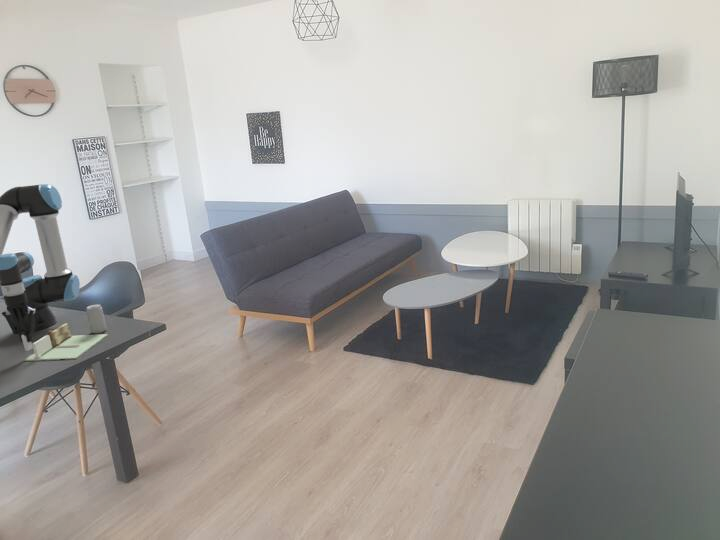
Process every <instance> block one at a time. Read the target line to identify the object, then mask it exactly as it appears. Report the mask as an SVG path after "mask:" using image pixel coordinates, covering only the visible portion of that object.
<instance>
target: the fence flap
mask: <svg viewBox="0 0 720 540" xmlns="http://www.w3.org/2000/svg"><path fill="white" fill-rule="evenodd" d="M32 347H33V348H32V349H33V352H34V353H35V357H34V358H40V357H42V356H40V355H42V354H43V353H45V352H46V351H48V350H49V349H51V348H52V344H51V340H50V336H49V335H48V334H45V335H44V336H43V337H41V338H39V339H38V340H37V341H34V342H32ZM34 353H33V354H34Z"/></svg>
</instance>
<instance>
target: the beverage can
mask: <svg viewBox="0 0 720 540" xmlns="http://www.w3.org/2000/svg"><path fill="white" fill-rule="evenodd" d="M85 312H86V316H87V319H88V325H89V329H90V332H91V334H93V335H99V334H103V333H104V332H105V331H107V324H106V320H105V315H104V310H103V307H102V306H101V304H100V303H99V304H91V305H89V306H86V311H85Z"/></svg>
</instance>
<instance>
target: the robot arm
mask: <svg viewBox="0 0 720 540" xmlns="http://www.w3.org/2000/svg"><path fill="white" fill-rule="evenodd" d="M62 203H63V201H62V198H61V194H60V193H59V191H58V189H57V187H55V186H54V185H52V184H41V183H40V184H34V185H27V186H26V185H23V186H15V187H12V188H9V189H8V190H6V191H5V192H4V193H2V194H1V195H0V288H1V292H2V295H3V301H4V302H5V303H4V304H5V306H6V310H4V311H3V312H1V315H2V316H3V317H4V318H5V319H6V321H7V324H8V325H9V327H10V329H11V331H12V333H13V335H18V336H19V339H20V342H21V343H22V344H23V347H24V350H25V352H26V351H27V352H29V351H31V350H32V349H33V345H32V344H33V342H32V341H33V337H32V333H33V332H35V331H38V330H43V329H46V328H49V327H51V326H53V325H55V324H56V323H57V322H58V321H57V318H56V316H55V314H54V313H53V311H52V309H51V308H50V306H49V304H50V303H58V302H59V303H60V302H69V301H72V300H73V301H74V300H75V299H77V298H78V296H79V294H80V287H81V285H80V279H79V276H78V275H77V274H73V270H72V269H70V268H69V267H68V265H67V261H66V256H65V250H64V247H63V243H62V238H61V233H60V230H59V224H58V221H57V217H58V215H59V213H60V211H59V210H61V209H62V207H63V206H62V205H63V204H62ZM24 213H26V214H27V213H28V215H29V218H31V219H33V220H34V223H35V227H36V230H37V236H38V240H39V243H40V249H41V253H42V258H43V261H44V267H45V270H46V272H45V273H44V275H43V276H42V275H40V274H39V275H38V274H36V275H31V276H28V277H25V278H23V277H22V276H23V275H22V274H23V273H25V272H27V271H29V270H30V269H31V268H32V267H33V266H34V264H35V259H34V257H33V255H32V254H31V253H29V252H25V251H22V252H17V253H4V250H5V247H6V244H7V240H8V238H9V235H10V232H11V229H12V227H13V224H14V221H15V220H17V219H18V216H19V215H20V214H24ZM3 253H4V254H3Z"/></svg>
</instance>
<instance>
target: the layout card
mask: <svg viewBox="0 0 720 540" xmlns="http://www.w3.org/2000/svg"><path fill="white" fill-rule="evenodd" d="M71 336H72V337H71V338H66V339H65V340H63V341H62V342H60V345H55V346H56V347H55V348H51V349H49V350H48V351H46V352H45V353H43V354H42V355H40V356H42V357H40V358H34V357H35V353H33V354H31V355H28V357H26V358H25V359H23V360H24V362H34V361H36V362H38V361H41V362H42V361H59V360H60V359H65V360H77V359H79V358H80V357H81V356H82V355H84V354H85V353H87V352H88V351H90V350H91V349H92V348H94V347H95V346H96V345H97V344H98V343H100V342H101V341H103V340H104V339H106V338H107V337H108V336H109V334H108V333H106V334H104V333H99V334H82V335H79V334H77V335H71ZM60 361H61V360H60Z"/></svg>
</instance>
